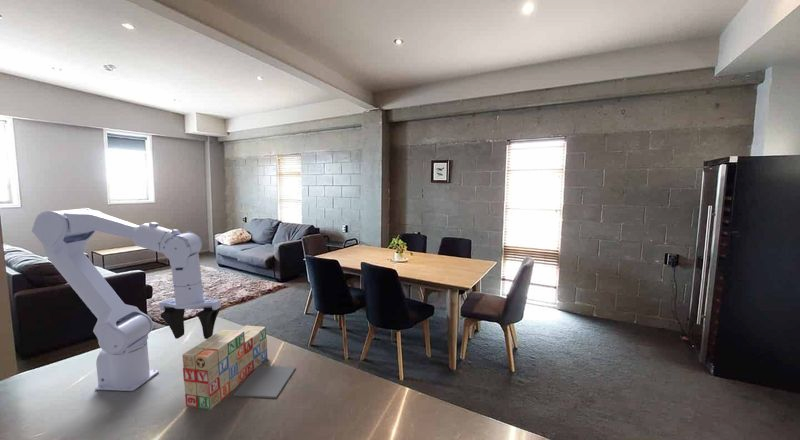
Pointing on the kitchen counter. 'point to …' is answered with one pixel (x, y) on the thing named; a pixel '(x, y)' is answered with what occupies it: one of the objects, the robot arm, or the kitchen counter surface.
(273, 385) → the mat
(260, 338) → the stack of blocks
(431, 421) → the kitchen counter surface
